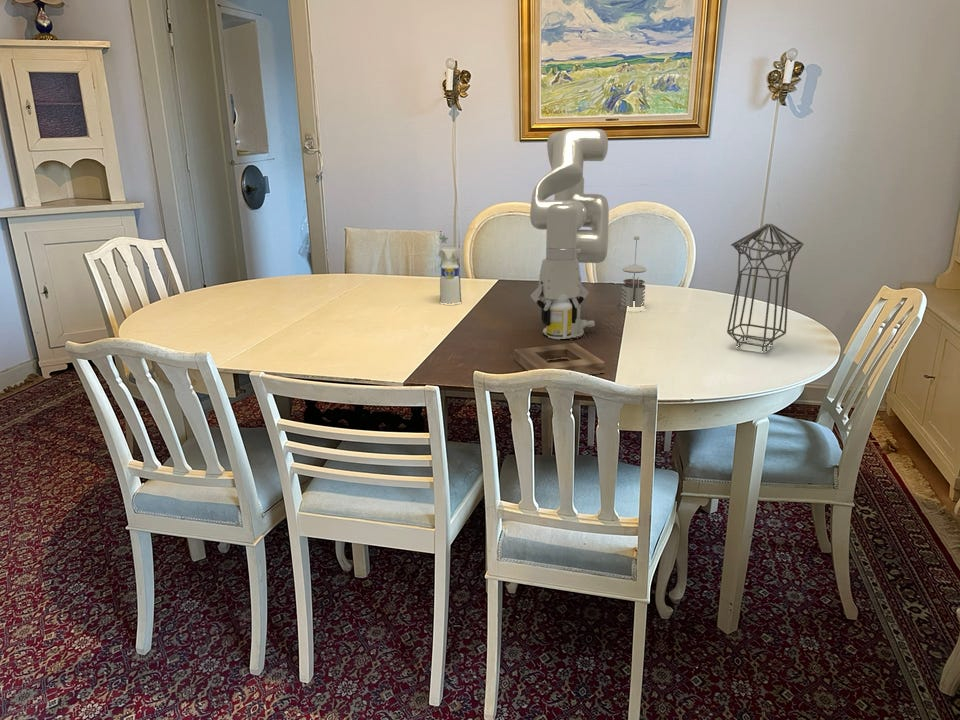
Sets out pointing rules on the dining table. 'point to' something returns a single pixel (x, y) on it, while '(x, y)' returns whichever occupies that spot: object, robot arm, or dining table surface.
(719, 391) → the dining table surface
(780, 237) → the geometric lantern
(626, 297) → the french press
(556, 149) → the robot arm
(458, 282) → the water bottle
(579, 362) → the board with square hole
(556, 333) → the pill bottle
